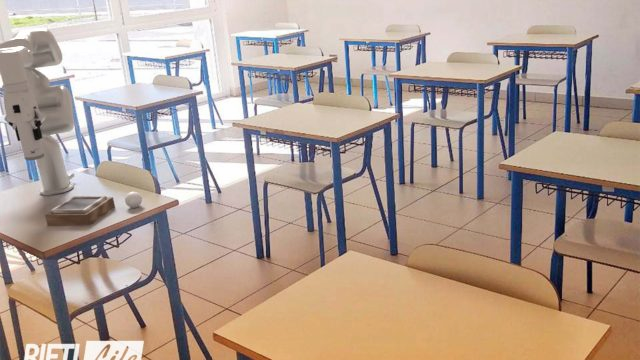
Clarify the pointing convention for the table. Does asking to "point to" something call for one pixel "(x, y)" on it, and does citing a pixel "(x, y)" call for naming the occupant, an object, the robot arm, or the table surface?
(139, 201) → the white egg
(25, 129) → the travel mug
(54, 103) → the robot arm
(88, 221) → the display stand
